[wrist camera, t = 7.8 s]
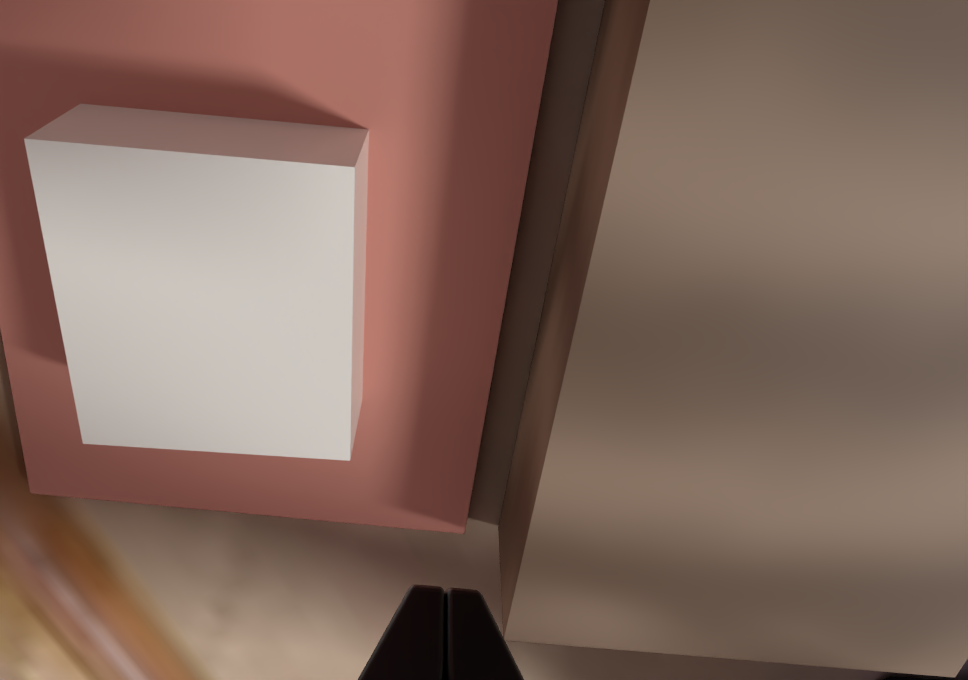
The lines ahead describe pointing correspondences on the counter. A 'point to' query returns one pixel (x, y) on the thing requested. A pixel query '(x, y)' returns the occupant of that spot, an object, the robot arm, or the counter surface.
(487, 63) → the mat
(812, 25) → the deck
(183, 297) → the tile
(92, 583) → the counter surface
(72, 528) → the counter surface
